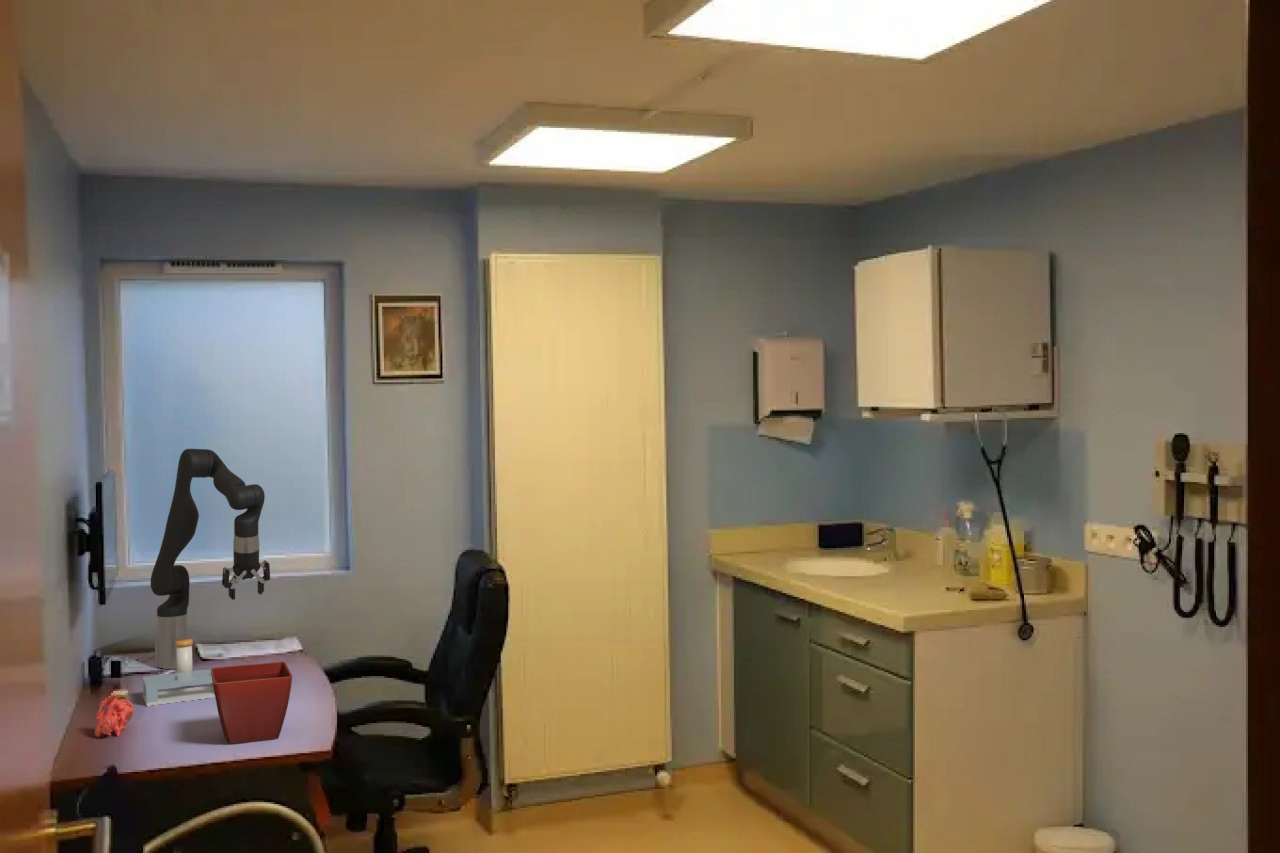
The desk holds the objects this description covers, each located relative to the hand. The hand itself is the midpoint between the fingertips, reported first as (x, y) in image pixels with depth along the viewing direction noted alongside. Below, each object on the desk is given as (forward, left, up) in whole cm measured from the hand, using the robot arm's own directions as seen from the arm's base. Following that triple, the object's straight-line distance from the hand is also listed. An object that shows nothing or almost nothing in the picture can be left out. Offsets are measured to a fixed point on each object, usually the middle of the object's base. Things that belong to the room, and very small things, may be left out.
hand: (246, 596), depth 359 cm
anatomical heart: (-5, -57, -27) cm, 63 cm away
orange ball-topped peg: (-17, -8, -27) cm, 33 cm away
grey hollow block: (-9, -20, -27) cm, 35 cm away
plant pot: (+32, -52, -27) cm, 67 cm away
